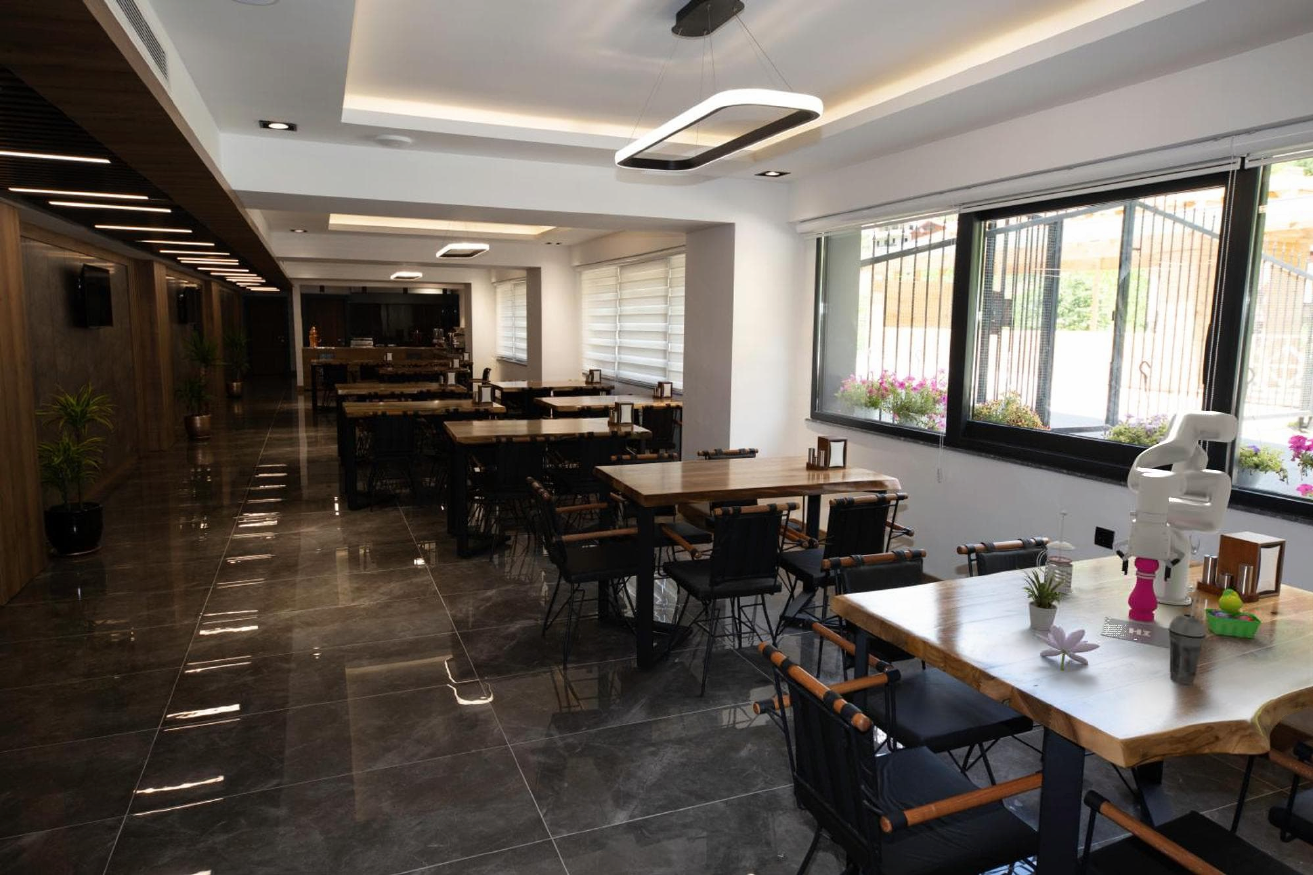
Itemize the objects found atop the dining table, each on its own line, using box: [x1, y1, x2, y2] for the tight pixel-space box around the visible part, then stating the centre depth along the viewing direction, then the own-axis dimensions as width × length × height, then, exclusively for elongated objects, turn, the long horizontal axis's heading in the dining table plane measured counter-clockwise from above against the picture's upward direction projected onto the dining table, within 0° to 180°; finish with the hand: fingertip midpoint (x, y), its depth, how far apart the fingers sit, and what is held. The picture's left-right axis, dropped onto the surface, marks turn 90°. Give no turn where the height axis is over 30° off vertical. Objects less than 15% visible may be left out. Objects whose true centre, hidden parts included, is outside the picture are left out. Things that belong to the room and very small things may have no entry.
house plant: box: [1016, 567, 1071, 631], centre depth 219 cm, size 14×14×16 cm
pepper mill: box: [1127, 557, 1159, 623], centre depth 228 cm, size 7×7×20 cm
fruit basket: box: [1204, 588, 1262, 639], centre depth 219 cm, size 11×9×11 cm
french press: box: [1036, 510, 1076, 594], centre depth 253 cm, size 10×12×25 cm
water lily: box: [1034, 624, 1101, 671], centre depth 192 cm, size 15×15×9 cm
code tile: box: [1100, 616, 1170, 649], centre depth 217 cm, size 17×17×1 cm
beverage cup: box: [1168, 595, 1207, 685], centre depth 185 cm, size 7×7×20 cm
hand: (1145, 577), depth 227 cm, fingers open, 9 cm apart
